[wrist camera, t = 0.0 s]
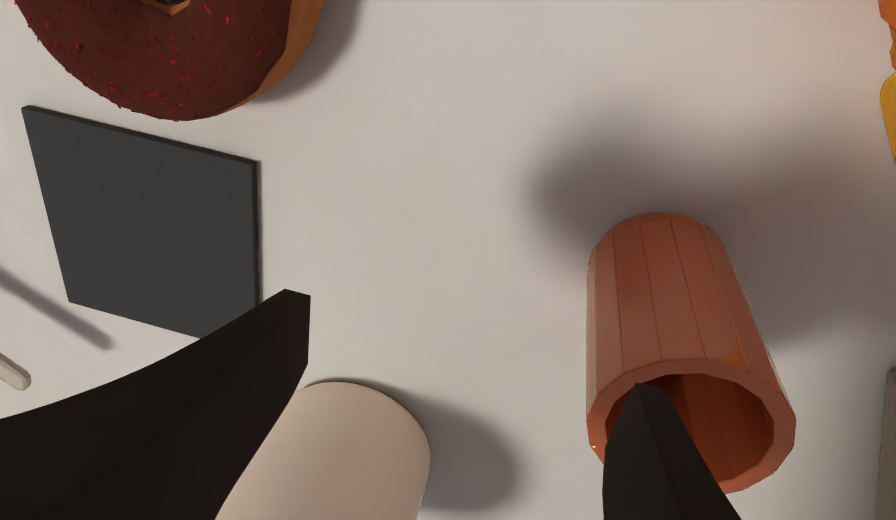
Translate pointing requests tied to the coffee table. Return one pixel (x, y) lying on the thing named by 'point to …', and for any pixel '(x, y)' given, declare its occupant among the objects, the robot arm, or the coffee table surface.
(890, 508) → the yellow framed monitor
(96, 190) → the mat
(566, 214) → the coffee table surface
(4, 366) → the frying pan
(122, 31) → the donut
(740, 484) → the terracotta cup
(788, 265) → the coffee table surface
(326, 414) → the mug
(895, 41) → the yellow toy drill
